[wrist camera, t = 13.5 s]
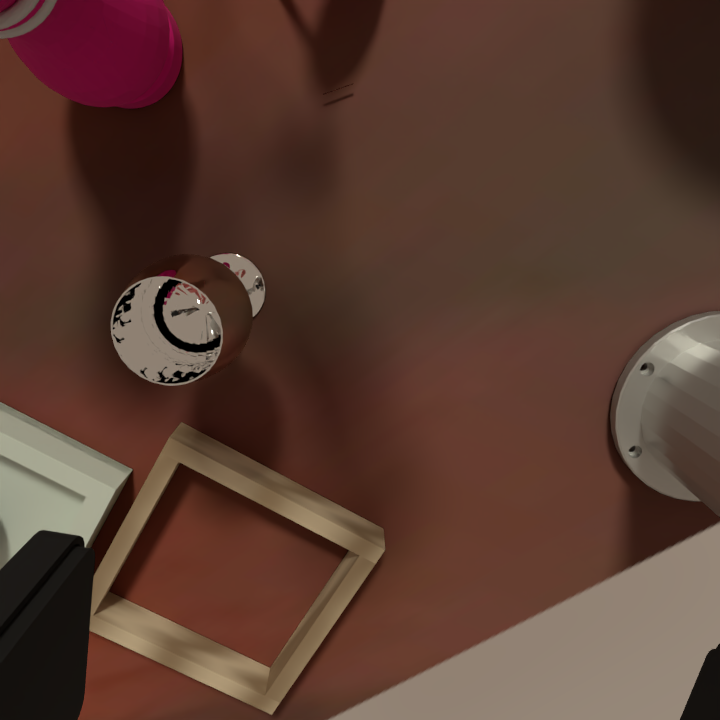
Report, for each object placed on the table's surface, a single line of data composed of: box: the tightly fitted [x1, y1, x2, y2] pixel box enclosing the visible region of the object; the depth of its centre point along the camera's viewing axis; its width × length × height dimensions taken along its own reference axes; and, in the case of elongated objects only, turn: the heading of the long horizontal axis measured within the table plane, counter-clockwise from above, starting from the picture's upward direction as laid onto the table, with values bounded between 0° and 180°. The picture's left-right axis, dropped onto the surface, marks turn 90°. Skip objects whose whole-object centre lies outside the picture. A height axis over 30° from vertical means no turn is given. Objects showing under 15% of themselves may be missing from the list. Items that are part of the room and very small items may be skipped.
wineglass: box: [111, 253, 266, 386], centre depth 30 cm, size 6×6×12 cm
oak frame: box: [89, 422, 385, 715], centre depth 39 cm, size 15×15×2 cm
